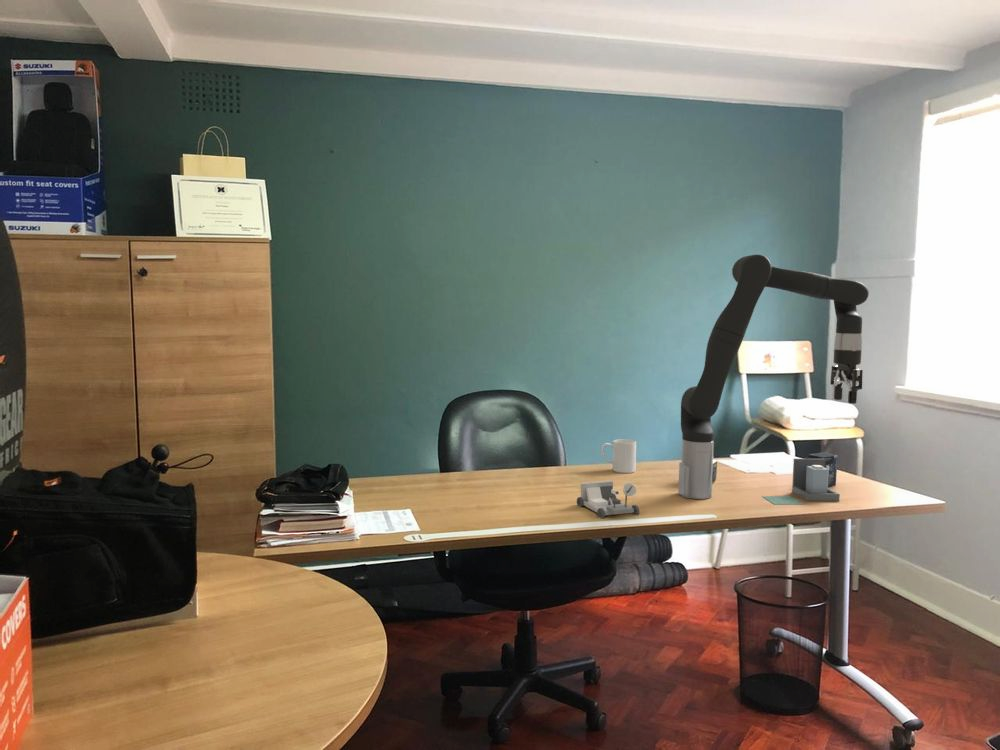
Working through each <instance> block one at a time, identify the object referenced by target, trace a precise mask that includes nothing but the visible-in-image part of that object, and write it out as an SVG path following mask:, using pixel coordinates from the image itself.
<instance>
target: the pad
mask: <svg viewBox="0 0 1000 750" xmlns="http://www.w3.org/2000/svg"><path fill="white" fill-rule="evenodd" d="M761 497H762V498H763V499H765V500H766V501H768V502H769V503H771V504H773V505H774V506H775V505H777V506H778V505H782V506H783V505H784V506H785V505H786V506H787V505H788V506H789V505H793V506H794V505H796V506H797V505H800V506H802V505H805V503H803V502H801V501H800V500H799V499H797V498H794V496H791V495H781V496H780V495H779V496H778V495H771V496H770V495H769V496H768V495H762V496H761Z"/></svg>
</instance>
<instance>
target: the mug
mask: <svg viewBox="0 0 1000 750" xmlns="http://www.w3.org/2000/svg"><path fill="white" fill-rule="evenodd" d="M612 442H613V443H610V442H605V443H603V444H601V445H602V446H601V454H602V456H603V458H604V459H605V460H606V461H607V462H609V463H610V464H612V471H614V472H615V473H622V474H631V473H635V472H636V469H637V466H636V463H637V461H636V460H637V441H636V440H633V439H627V438H623V439H621V438H620V439H613V441H612ZM605 446H610V447H612V460H610V459H609V458H607V456H606V454H605V452H604V447H605Z"/></svg>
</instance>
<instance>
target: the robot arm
mask: <svg viewBox="0 0 1000 750" xmlns="http://www.w3.org/2000/svg"><path fill="white" fill-rule="evenodd" d="M731 272H732V273H731V274H732V278H733V279H734V281H735V282H736V283H737V285H736V288H735V290H734V293H733V294H732V297H731V298H730V300H729V301H728V303H727V304H726V306H724V307H725V308H724V309H723V310H722V311H721V313H720V315H719V316H718V317H717V319H716V321H715V323H714V325H713V328H712V330H711V332H710V335H709V337H708V341H707V344H706V349H705V359H704V367H703V371H702V373H701V376H700V379H699V380H698V383H697V385H696V386H691V387H689V388H687V389H686V390H685V391H684V392H683V395H682V397H681V401H680V402H681V403H680V429H681V435H682V436H681V437H682V438H681V440H682V441H681V461H680V462H679V465H678V494H679V495H681V497H682V498H687V499H696V500H706V499H710V498H712V494H713V493H712V492H713V488H712V487H713V484H712V470H713V460H714V456H713V448H714V447H715V446H714V445H715V442H714V439H715V432H714V429H713V427H712V422H711V421H712V420H711V418H712V417H713V416H714V415H715V414H716V412H717V411H718V409H719V406H720V401H721V399H722V395H723V391H724V388H725V384H726V381H727V378H728V377H729V376H728V375H729V374H730V371H731V370H732V366H733V364H734V362H735V359H736V357H737V355H738V353H739V350H740V348H741V345H742V344H743V343H742V342H743V340H744V338H745V335H746V332H747V329H748V327H749V325H750V321H751V318H752V316H753V313H754V312H755V311H754V310H755V307H756V305H757V303H758V301H759V299H760V297H761V295H762V293H763V291H764V289H765V288H773V289H777V290H782V291H787V292H790V293H795V294H798V295H802V296H805V297H810V298H815V299H819V300H828V301H829V300H830V301H833V305H834V311H835V315H836V316H835V317H836V325H835V326H836V327H835V337H834V345H833V347H834V348H833V363H834V364H836V365H831V371H830V382H829V383H830V385H831V386H832V387H833V388H834V389H833V390H834V391H833V400H836V401H841V400H842V399H843V386H844V385H846V386H847V388H848V393H847V397H848V398H847V403H848V404H853V405H854V404H856V403H857V399H858V398H857V397H858V396H857V395H858V391H859V390H862V389H863V372H864V371H863V369H862V368H861V369H859V368H857V366H858V365H861V363H862V348H863V346H862V345H863V340H862V339H863V338H862V333H863V332H862V330H863V318H862V316H861V315H860V314H858V312H857V311H858V310H857V306H860V305H862V304H863V303H865V302H866V301H867V299H868V297H869V289H868V287H867V286H866V285H865V284H863V283H862V282H860V281H856V280H849V279H842V278H836V277H835V278H834V277H832V276H827V275H826V274H825V275H824V274H820V273H817V272H816V273H815V272H811V271H810V272H809V271H803V270H795V269H787V268H781V267H777V266H773V265H772V263H771V261H770V259H768V257H767V256H766V255H762V254H751V255H746V256H743V257H741V258H739V259H737V260H736V261H735V263H734V264H733V266H732V270H731Z"/></svg>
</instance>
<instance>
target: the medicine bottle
mask: <svg viewBox="0 0 1000 750" xmlns="http://www.w3.org/2000/svg"><path fill="white" fill-rule="evenodd" d="M714 453H715V448H714V447H713V457H714V455H715V454H714ZM717 467H718V460H717V459H713V470H712V485H713V484H714V483H715V482H716V481H717V470H718V468H717Z"/></svg>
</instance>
